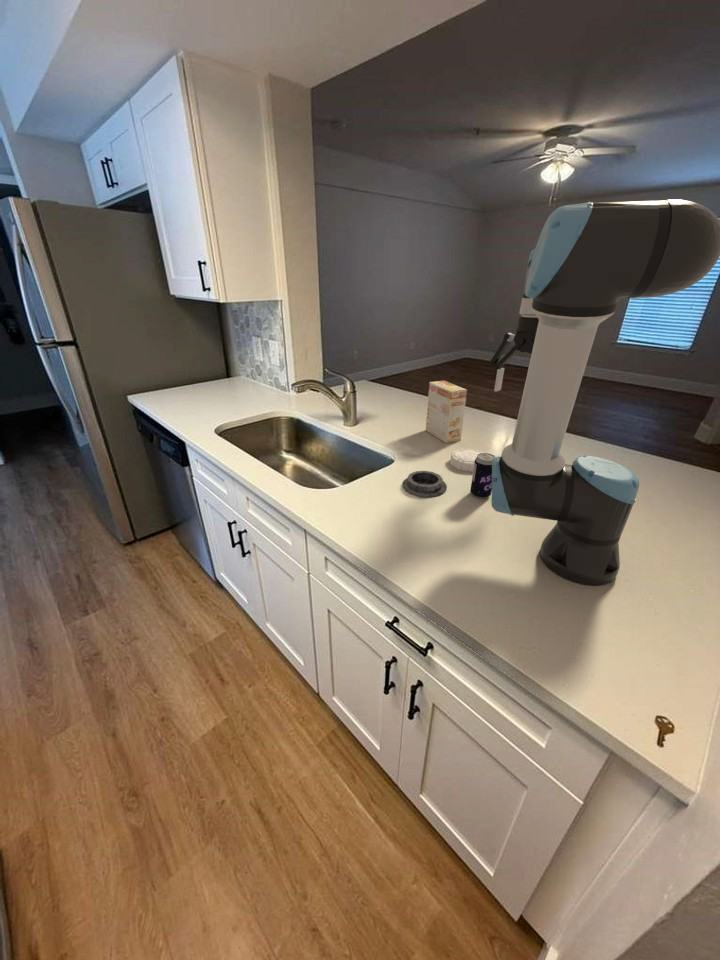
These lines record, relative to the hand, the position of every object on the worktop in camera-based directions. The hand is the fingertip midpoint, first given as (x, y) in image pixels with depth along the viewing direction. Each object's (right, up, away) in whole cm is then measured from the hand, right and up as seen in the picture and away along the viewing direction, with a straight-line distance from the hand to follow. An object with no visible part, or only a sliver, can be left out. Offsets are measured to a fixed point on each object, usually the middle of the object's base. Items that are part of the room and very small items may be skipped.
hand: (518, 395), depth 113 cm
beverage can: (-12, -29, -2) cm, 31 cm away
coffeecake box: (-14, -7, +39) cm, 42 cm away
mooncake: (-10, -20, +16) cm, 27 cm away
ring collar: (-27, -26, +3) cm, 38 cm away
